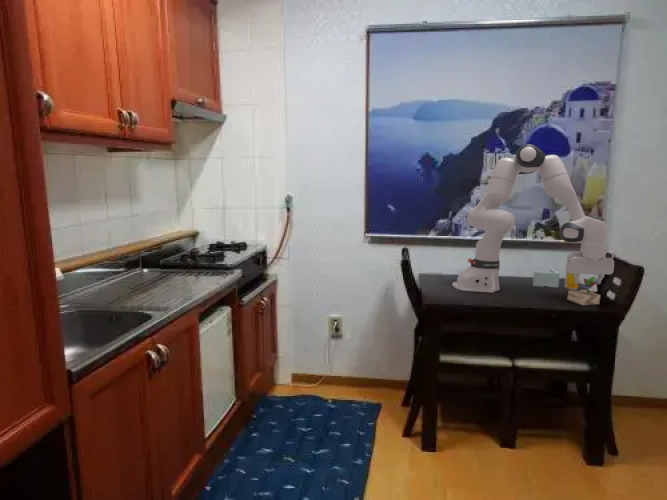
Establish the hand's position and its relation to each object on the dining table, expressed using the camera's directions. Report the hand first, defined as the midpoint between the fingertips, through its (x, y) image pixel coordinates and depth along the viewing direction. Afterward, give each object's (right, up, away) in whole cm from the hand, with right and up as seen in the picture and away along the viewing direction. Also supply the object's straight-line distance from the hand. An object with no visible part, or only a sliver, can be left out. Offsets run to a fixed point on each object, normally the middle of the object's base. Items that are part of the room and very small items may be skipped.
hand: (587, 283), depth 212 cm
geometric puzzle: (+2, -3, +2) cm, 4 cm away
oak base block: (-1, -9, +2) cm, 9 cm away
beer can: (+5, -5, +26) cm, 27 cm away
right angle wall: (-5, -3, +35) cm, 35 cm away
